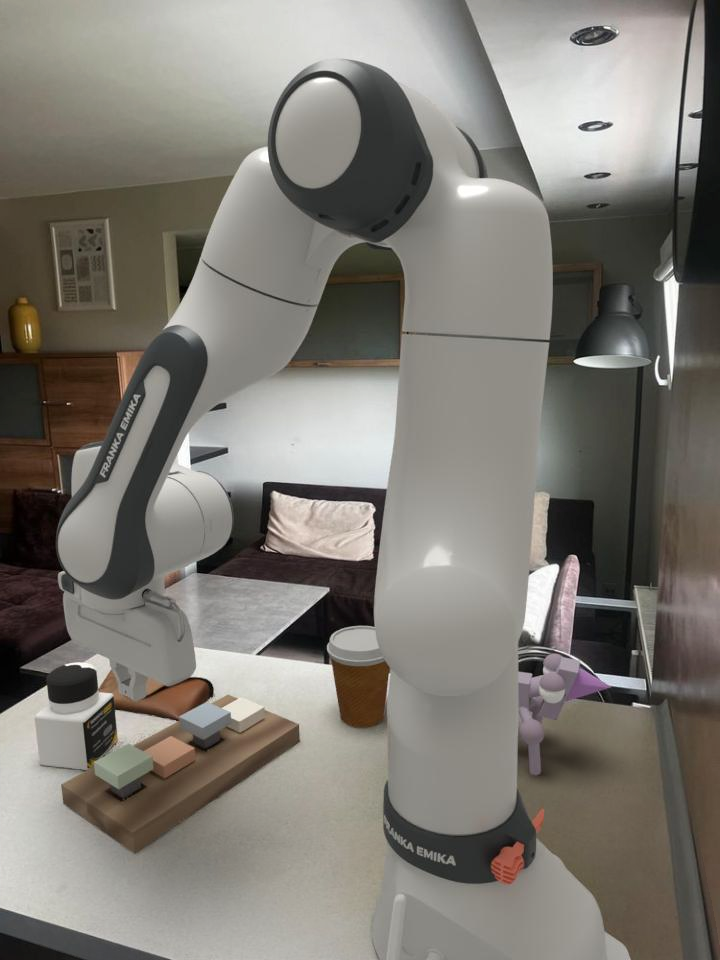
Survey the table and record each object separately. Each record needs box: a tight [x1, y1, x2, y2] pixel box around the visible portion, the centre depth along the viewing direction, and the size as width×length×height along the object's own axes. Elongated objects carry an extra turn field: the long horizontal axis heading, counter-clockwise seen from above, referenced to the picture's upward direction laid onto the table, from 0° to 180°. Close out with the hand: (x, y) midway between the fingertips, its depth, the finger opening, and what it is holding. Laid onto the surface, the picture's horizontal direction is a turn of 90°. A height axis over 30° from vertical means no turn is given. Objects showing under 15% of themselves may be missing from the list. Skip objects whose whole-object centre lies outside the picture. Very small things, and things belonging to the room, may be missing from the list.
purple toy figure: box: [518, 653, 612, 776], centre depth 89 cm, size 20×11×14 cm, turn 69°
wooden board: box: [60, 694, 301, 854], centre depth 88 cm, size 14×26×2 cm, turn 143°
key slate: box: [179, 701, 231, 749], centre depth 89 cm, size 5×5×4 cm
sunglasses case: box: [98, 668, 215, 722], centre depth 106 cm, size 18×7×7 cm, turn 74°
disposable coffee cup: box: [326, 625, 391, 728], centre depth 99 cm, size 10×10×12 cm
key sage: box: [93, 743, 153, 798], centre depth 80 cm, size 5×5×4 cm
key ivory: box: [222, 697, 266, 733], centre depth 94 cm, size 5×5×4 cm
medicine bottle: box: [34, 661, 119, 771], centre depth 91 cm, size 7×7×12 cm
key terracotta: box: [143, 736, 196, 778], centre depth 85 cm, size 5×5×4 cm
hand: (133, 696), depth 80 cm, fingers closed
